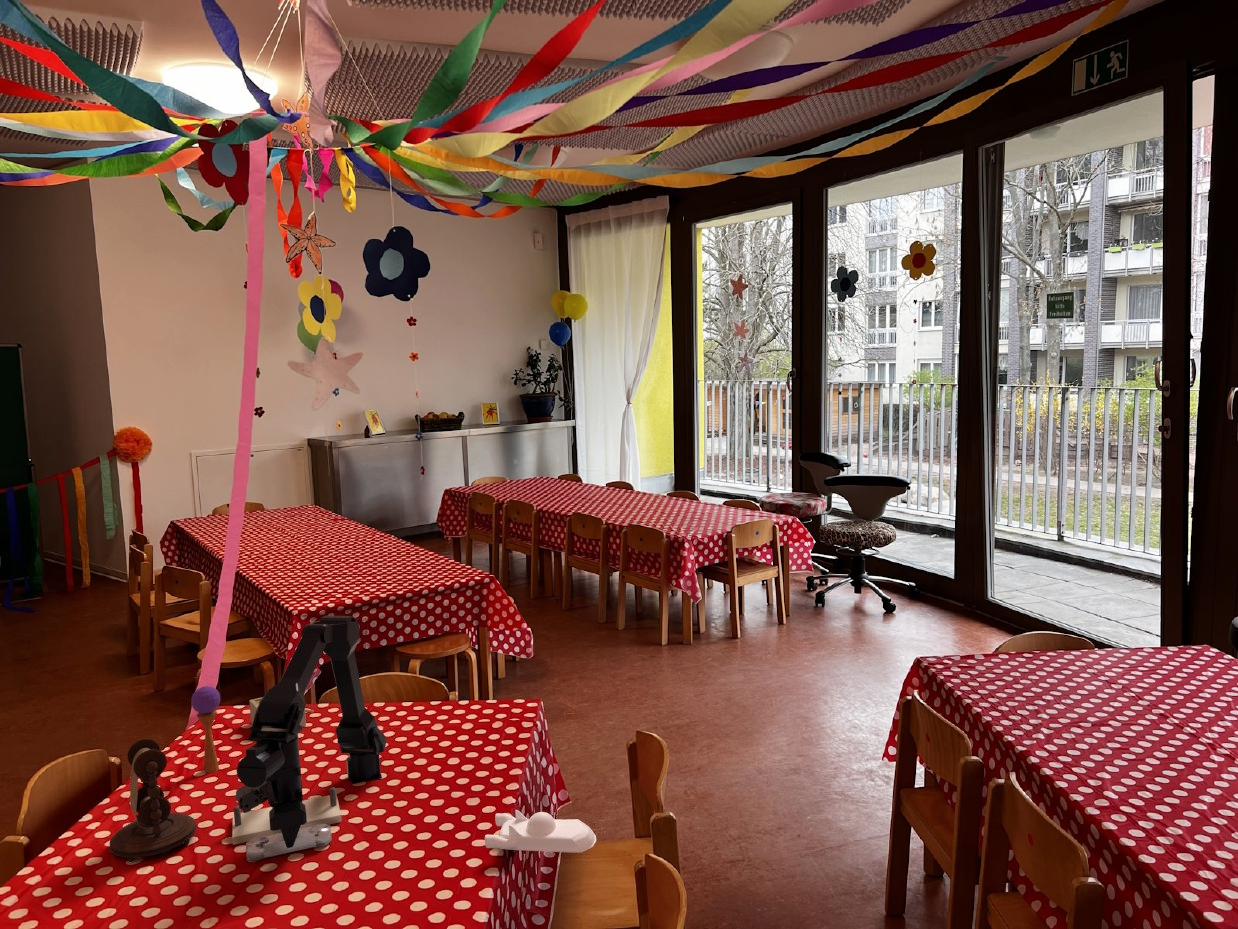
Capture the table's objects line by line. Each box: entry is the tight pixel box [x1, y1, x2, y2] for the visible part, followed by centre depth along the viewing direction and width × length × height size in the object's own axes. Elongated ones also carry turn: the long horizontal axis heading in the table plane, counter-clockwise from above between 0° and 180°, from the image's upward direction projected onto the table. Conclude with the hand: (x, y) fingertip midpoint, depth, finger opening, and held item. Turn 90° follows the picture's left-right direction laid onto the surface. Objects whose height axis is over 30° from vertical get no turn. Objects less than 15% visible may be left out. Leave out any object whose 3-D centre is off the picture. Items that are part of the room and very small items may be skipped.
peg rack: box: [231, 787, 342, 845], centre depth 179 cm, size 20×10×5 cm, turn 113°
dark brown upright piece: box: [109, 738, 197, 863], centre depth 171 cm, size 15×15×20 cm
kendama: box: [190, 685, 221, 773], centre depth 203 cm, size 6×6×20 cm
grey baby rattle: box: [245, 824, 332, 861], centre depth 168 cm, size 15×4×2 cm, turn 113°
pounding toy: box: [249, 696, 314, 731], centre depth 233 cm, size 18×17×8 cm
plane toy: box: [484, 809, 597, 854], centre depth 168 cm, size 10×20×6 cm, turn 84°
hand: (289, 842), depth 168 cm, fingers closed on grey baby rattle, 3 cm apart
